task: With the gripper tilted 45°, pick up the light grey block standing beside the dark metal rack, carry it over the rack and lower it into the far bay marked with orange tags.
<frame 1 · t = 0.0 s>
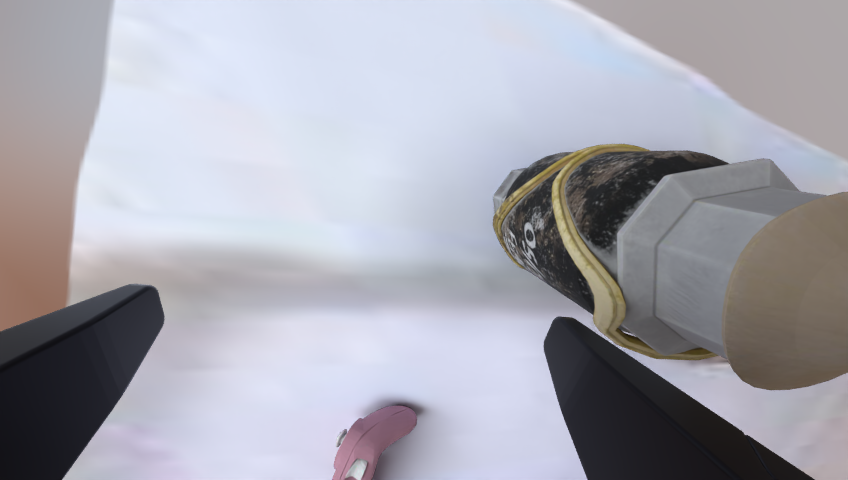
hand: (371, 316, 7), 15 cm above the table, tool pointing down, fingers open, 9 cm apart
video game controller: (367, 443, 27), on the table
lantern: (533, 207, 24), on the table
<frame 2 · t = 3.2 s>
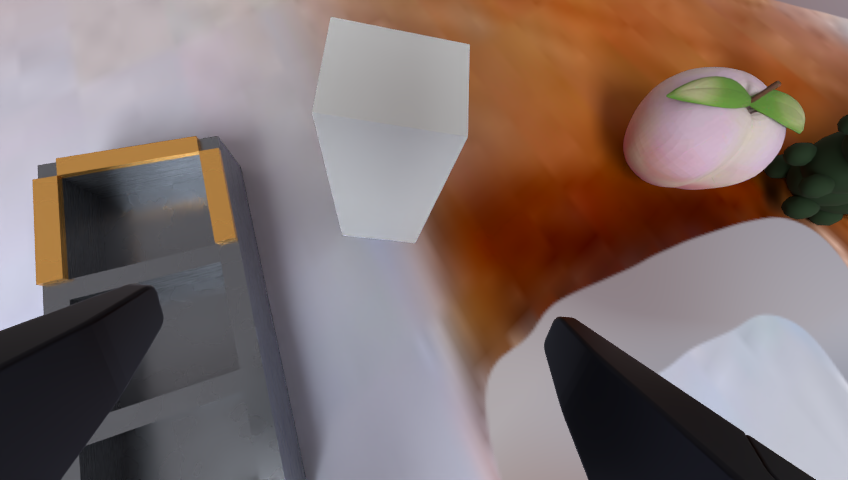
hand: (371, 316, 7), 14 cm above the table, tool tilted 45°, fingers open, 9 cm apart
rack: (193, 335, 18), on the table
decorative fruit: (637, 167, 28), on the table
toy figurine: (824, 193, 31), on the table
light grey block: (382, 212, 23), on the table
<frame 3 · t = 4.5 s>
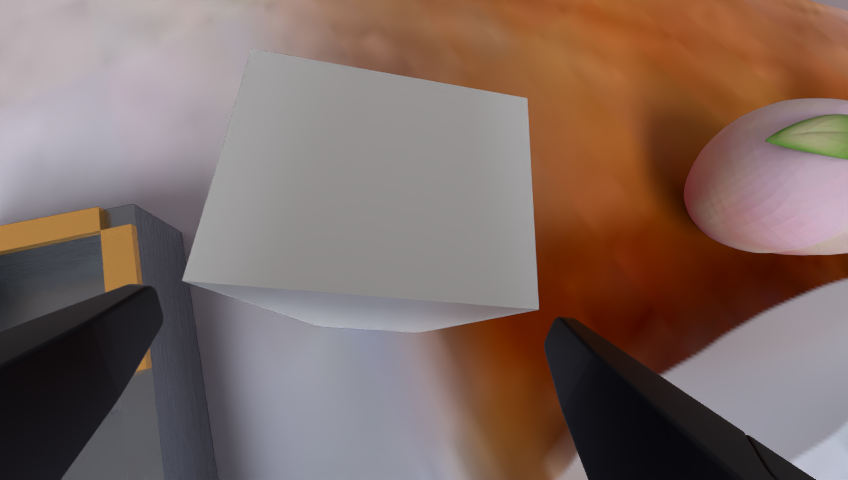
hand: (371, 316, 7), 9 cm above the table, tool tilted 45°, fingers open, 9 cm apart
decorative fruit: (694, 215, 22), on the table
light grey block: (373, 290, 17), on the table
when the fingers open (8 cm above the table, at t = 10.7 s): light grey block stays where it is, resting on rack.
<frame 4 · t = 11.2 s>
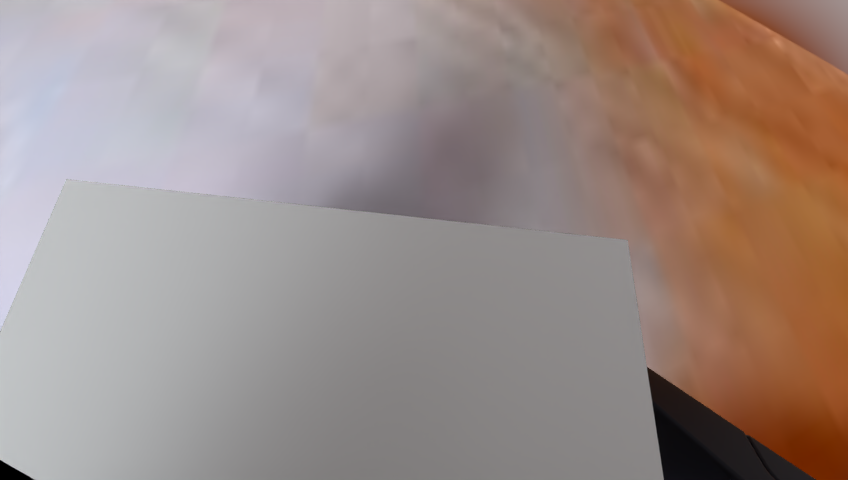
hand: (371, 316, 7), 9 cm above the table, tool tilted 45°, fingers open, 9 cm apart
light grey block: (365, 360, 14), point 1 cm above the table, touching rack
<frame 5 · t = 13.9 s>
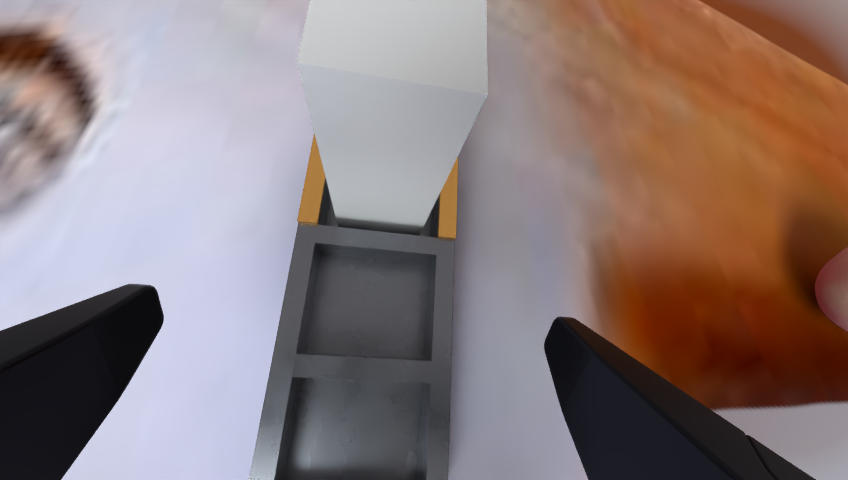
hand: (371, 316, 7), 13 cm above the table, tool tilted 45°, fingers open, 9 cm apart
rack: (371, 307, 20), on the table
decorative fruit: (816, 301, 26), on the table
light grey block: (382, 203, 21), point 1 cm above the table, touching rack
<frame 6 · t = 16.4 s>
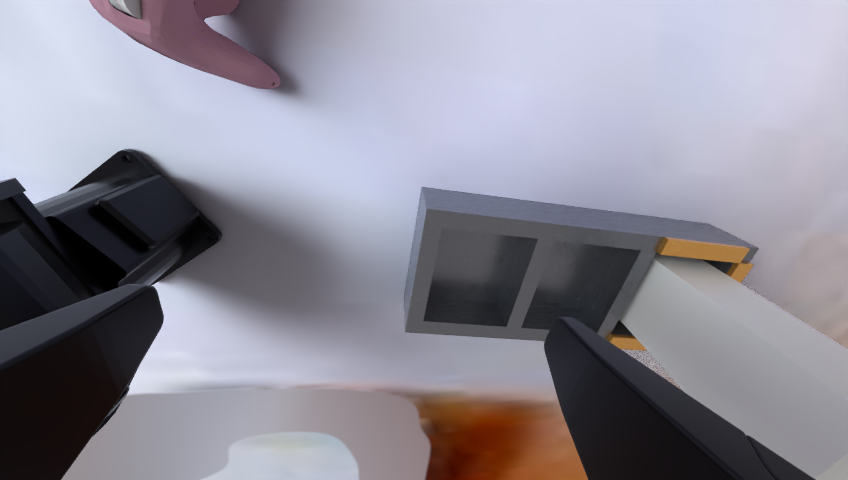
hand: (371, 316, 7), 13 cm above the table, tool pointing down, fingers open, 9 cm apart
rack: (553, 261, 23), on the table
light grey block: (643, 277, 23), point 1 cm above the table, touching rack
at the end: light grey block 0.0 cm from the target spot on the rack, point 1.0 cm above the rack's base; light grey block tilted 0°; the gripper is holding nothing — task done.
